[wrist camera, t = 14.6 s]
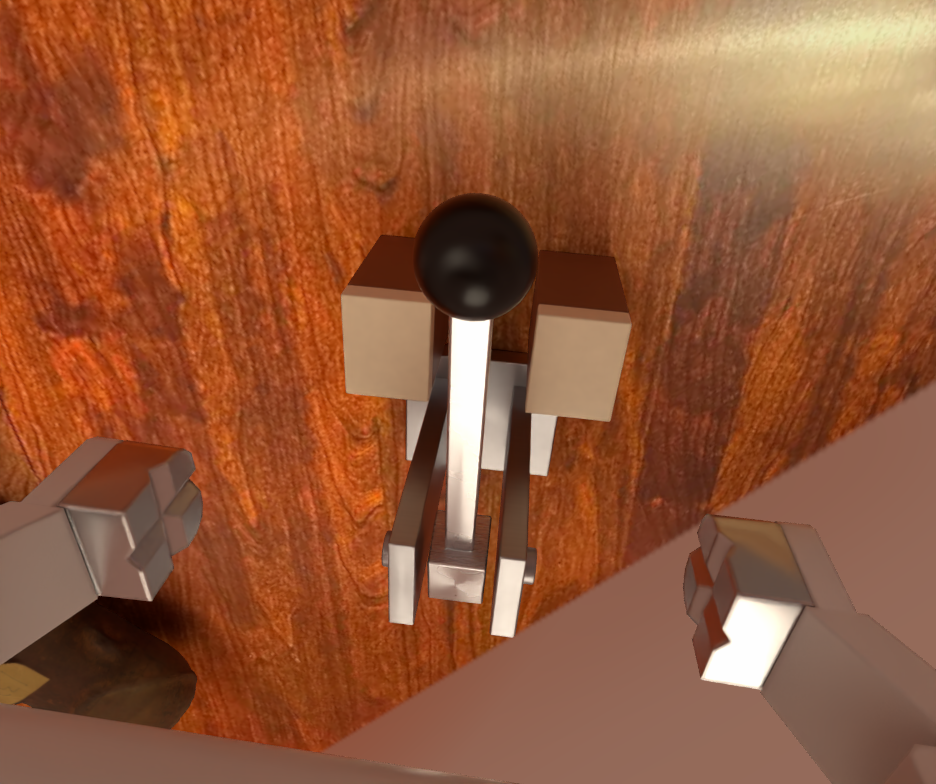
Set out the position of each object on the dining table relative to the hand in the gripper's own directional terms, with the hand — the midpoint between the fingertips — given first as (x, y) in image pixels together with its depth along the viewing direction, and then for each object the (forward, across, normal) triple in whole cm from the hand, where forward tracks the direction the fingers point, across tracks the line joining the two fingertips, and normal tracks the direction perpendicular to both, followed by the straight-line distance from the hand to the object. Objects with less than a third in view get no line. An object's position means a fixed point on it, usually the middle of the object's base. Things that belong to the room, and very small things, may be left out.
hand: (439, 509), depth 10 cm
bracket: (+21, 0, +12) cm, 24 cm away
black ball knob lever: (+10, 0, +5) cm, 11 cm away
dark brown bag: (+21, +30, +33) cm, 49 cm away
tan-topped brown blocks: (+21, 0, +5) cm, 22 cm away
